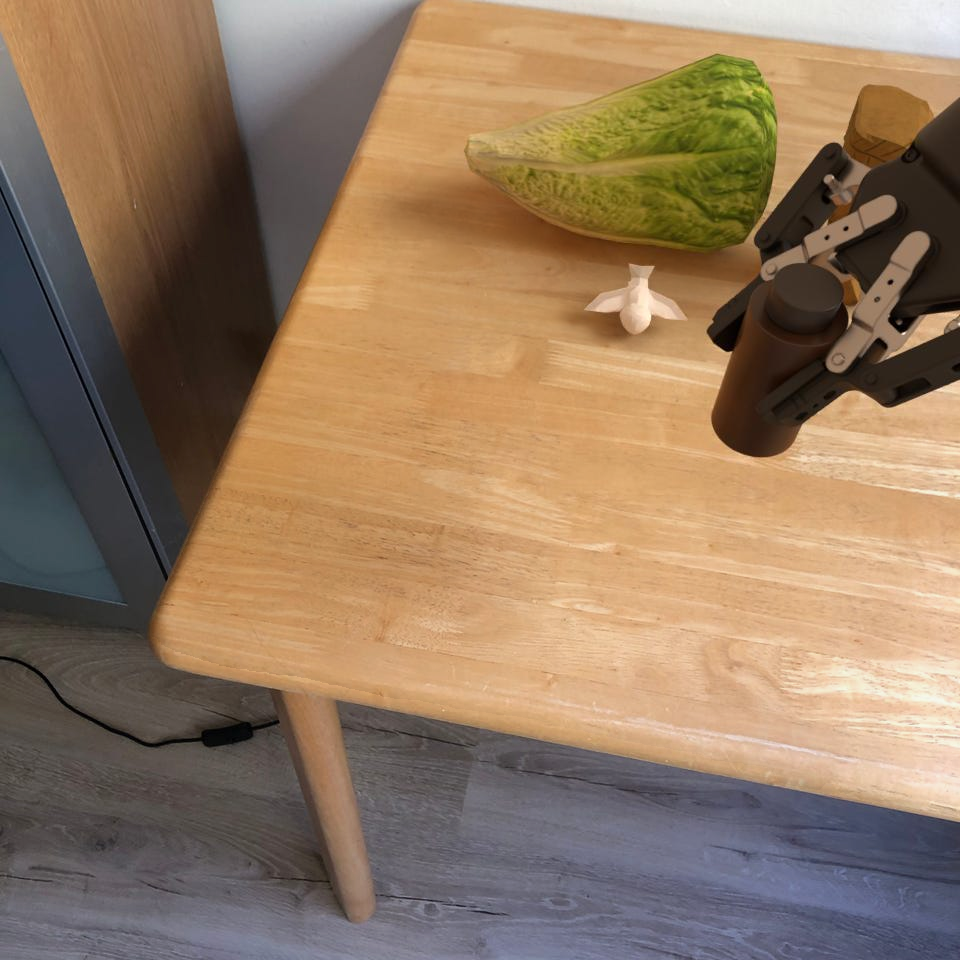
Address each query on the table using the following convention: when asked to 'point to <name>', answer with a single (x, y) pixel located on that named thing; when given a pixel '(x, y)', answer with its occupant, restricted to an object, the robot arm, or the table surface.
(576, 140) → the lettuce
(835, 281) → the pepper mill
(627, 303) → the toy bird
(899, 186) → the robot arm
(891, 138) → the figurine
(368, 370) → the table surface
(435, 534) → the table surface
